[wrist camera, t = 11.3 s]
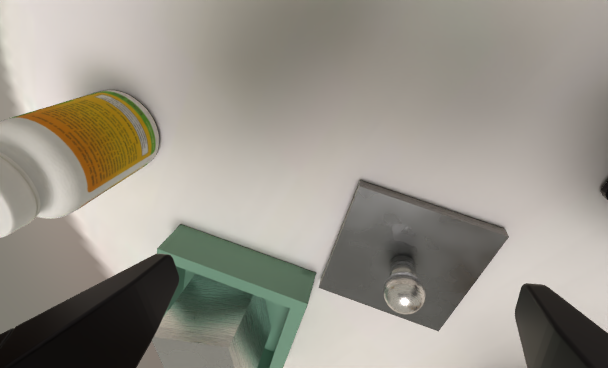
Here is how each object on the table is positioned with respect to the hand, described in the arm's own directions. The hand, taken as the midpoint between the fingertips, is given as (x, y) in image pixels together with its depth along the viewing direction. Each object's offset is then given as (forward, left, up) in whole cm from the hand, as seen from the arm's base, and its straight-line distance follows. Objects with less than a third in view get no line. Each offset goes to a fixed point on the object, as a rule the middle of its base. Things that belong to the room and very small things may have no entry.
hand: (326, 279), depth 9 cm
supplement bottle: (+15, +5, -12) cm, 20 cm away
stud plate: (-6, +7, -12) cm, 15 cm away
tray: (+5, +17, -12) cm, 21 cm away
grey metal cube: (+5, +17, -11) cm, 21 cm away
